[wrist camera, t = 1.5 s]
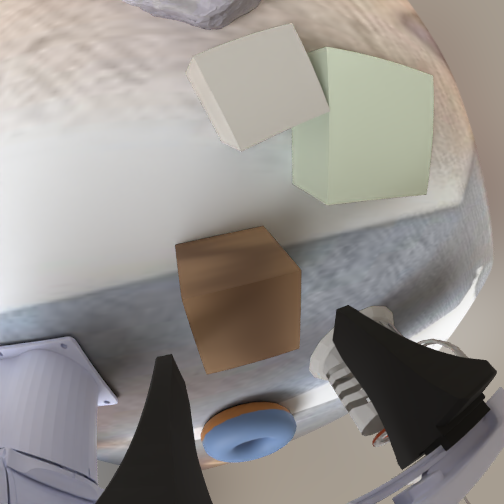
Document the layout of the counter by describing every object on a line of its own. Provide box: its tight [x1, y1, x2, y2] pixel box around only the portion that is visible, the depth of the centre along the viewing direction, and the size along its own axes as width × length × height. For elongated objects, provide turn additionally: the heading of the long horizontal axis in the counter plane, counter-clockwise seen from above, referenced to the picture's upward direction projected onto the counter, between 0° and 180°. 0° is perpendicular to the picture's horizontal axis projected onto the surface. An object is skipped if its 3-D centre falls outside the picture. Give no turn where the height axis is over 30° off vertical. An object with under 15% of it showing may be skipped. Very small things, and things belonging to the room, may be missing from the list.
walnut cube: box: [175, 226, 301, 374], centre depth 14 cm, size 5×5×5 cm
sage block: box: [292, 47, 434, 205], centre depth 13 cm, size 7×7×4 cm
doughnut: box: [201, 402, 296, 462], centre depth 24 cm, size 10×10×5 cm
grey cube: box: [185, 23, 330, 152], centre depth 10 cm, size 4×4×4 cm
